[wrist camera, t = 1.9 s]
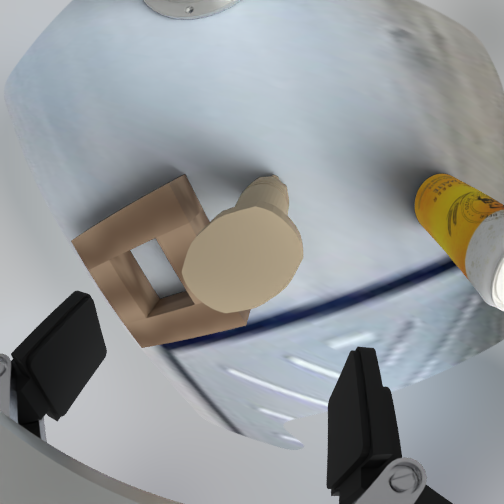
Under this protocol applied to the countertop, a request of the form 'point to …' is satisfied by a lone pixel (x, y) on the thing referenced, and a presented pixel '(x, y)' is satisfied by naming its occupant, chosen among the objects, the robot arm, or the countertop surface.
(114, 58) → the countertop surface
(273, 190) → the tan flared peg
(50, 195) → the countertop surface
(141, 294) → the keyed socket block
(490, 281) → the beer can
